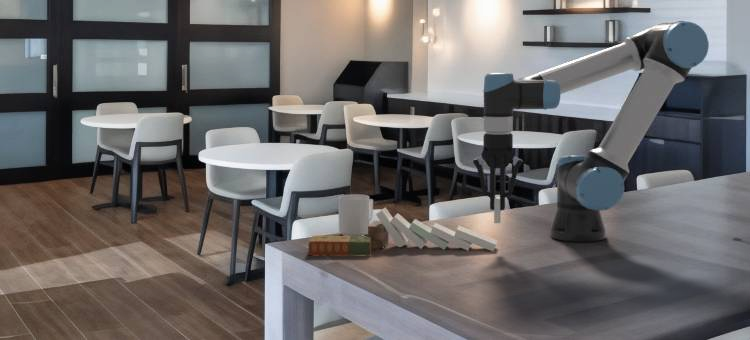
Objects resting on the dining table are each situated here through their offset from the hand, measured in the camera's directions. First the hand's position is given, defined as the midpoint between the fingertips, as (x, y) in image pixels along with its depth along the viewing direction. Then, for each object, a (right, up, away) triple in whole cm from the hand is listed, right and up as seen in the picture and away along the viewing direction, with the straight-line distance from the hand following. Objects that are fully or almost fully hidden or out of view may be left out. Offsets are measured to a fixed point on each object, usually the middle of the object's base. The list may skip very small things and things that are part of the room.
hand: (497, 222), depth 227 cm
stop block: (-31, -7, +8) cm, 33 cm away
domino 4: (-7, -6, +2) cm, 10 cm away
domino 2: (-19, -6, +5) cm, 20 cm away
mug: (-37, -5, +23) cm, 44 cm away
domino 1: (-24, -6, +6) cm, 26 cm away
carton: (-41, -9, 0) cm, 42 cm away
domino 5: (0, -6, +1) cm, 7 cm away
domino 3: (-13, -6, +4) cm, 15 cm away
